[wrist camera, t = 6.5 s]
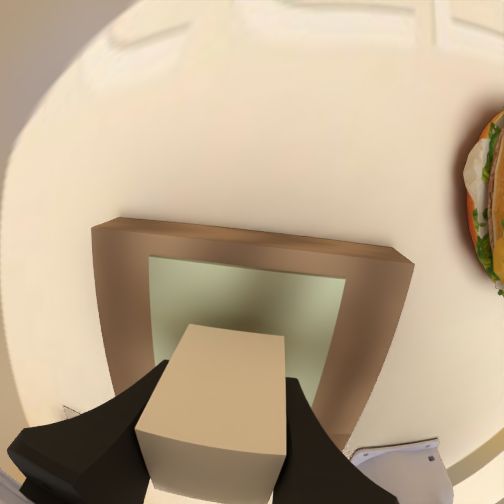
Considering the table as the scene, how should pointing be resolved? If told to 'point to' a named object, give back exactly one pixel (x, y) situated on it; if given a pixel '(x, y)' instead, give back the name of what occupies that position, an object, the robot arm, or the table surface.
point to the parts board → (252, 303)
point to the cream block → (218, 417)
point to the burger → (488, 199)
